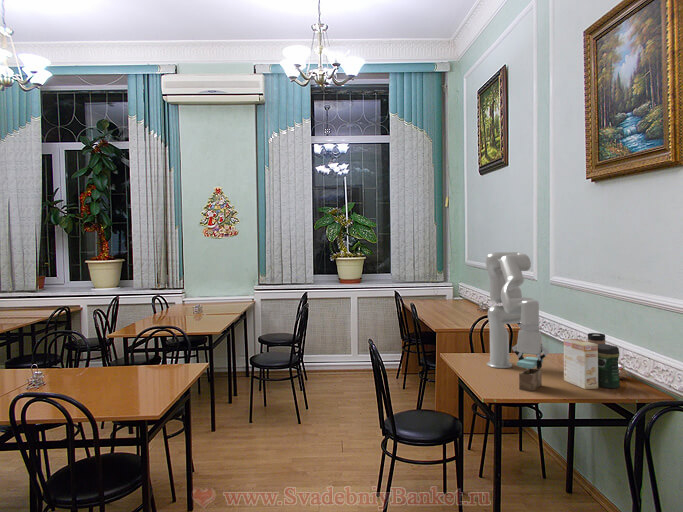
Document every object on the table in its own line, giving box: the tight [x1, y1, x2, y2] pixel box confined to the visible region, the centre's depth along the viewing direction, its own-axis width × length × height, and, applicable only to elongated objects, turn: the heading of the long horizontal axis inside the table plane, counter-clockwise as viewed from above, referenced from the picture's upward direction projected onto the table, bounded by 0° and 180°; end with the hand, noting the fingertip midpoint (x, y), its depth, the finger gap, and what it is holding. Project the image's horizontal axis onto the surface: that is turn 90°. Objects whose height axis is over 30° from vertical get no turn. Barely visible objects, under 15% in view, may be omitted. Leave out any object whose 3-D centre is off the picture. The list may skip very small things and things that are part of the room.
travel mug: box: [587, 332, 606, 344], centre depth 238 cm, size 8×8×20 cm
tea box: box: [518, 368, 543, 392], centre depth 221 cm, size 12×6×7 cm, turn 140°
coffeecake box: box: [563, 338, 599, 390], centre depth 224 cm, size 15×7×20 cm, turn 10°
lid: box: [516, 356, 544, 369], centre depth 221 cm, size 13×7×3 cm, turn 139°
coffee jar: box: [598, 343, 621, 389], centre depth 221 cm, size 10×8×19 cm
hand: (530, 367), depth 221 cm, fingers closed on lid, 7 cm apart
